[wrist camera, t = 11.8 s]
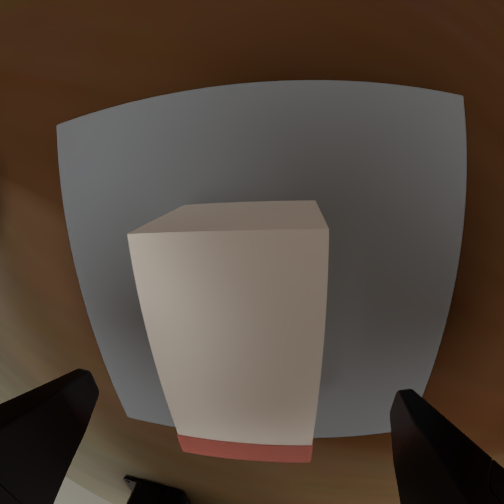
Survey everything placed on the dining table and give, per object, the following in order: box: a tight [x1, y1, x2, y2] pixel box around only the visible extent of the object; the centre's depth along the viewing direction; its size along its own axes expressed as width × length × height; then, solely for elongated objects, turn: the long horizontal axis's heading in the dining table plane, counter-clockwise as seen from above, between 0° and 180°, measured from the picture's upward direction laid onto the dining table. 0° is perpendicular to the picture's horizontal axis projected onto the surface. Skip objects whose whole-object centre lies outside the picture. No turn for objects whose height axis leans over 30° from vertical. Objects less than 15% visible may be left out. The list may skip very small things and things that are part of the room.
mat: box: [57, 80, 467, 438], centre depth 13 cm, size 18×18×1 cm
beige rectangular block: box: [127, 200, 329, 462], centre depth 10 cm, size 5×9×5 cm, turn 3°
